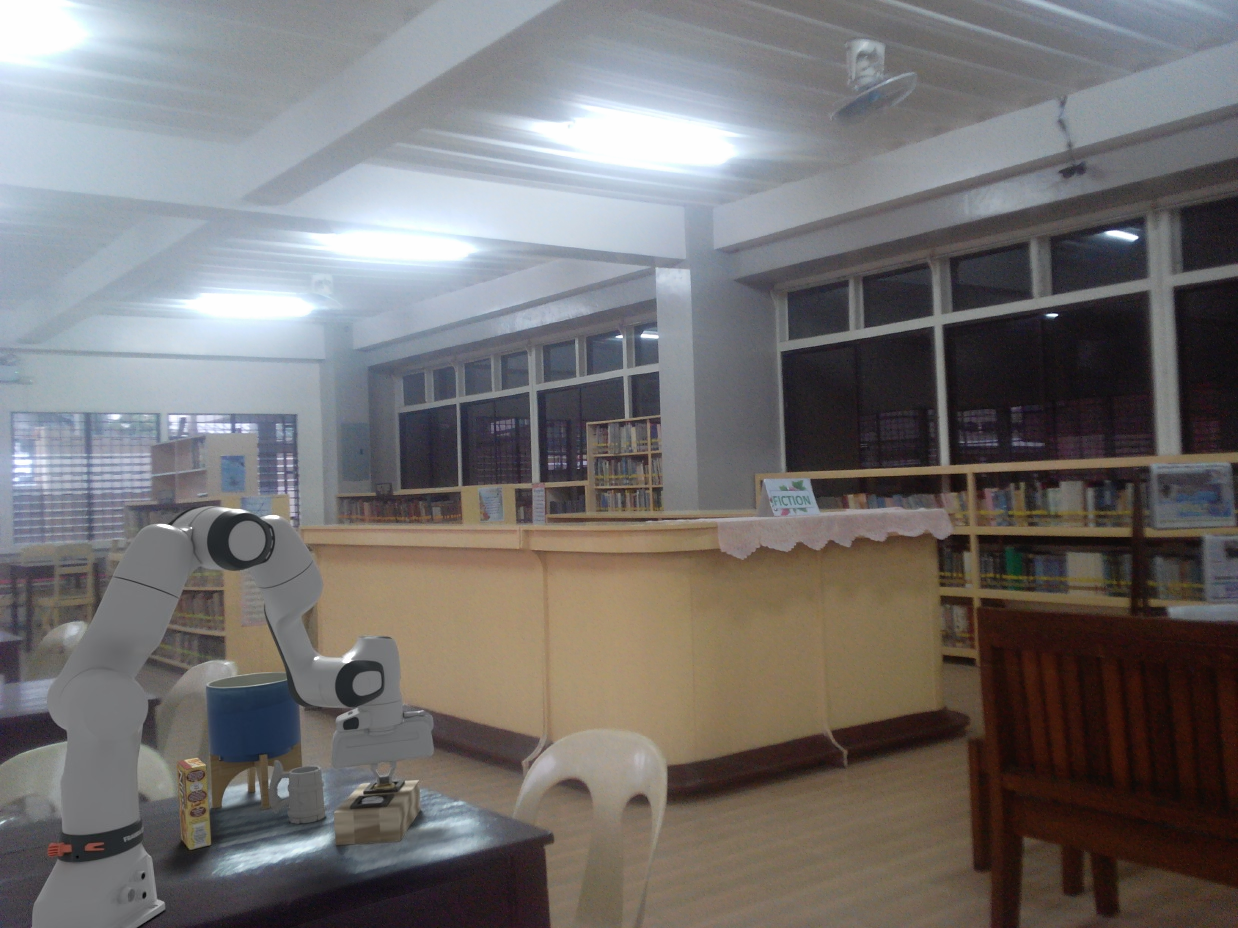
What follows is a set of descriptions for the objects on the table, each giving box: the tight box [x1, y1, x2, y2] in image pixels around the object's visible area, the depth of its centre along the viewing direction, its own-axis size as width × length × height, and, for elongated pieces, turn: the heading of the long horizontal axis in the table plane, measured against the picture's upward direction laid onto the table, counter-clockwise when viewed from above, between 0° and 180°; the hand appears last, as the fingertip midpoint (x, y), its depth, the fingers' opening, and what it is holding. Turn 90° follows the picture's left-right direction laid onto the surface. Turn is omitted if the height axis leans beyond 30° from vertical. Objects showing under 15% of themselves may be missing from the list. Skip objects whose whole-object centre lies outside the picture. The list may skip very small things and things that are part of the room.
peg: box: [362, 796, 383, 804], centre depth 199 cm, size 4×4×6 cm
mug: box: [268, 760, 327, 825], centre depth 214 cm, size 8×12×12 cm, turn 85°
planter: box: [205, 671, 303, 811], centre depth 231 cm, size 19×19×26 cm
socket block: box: [333, 779, 422, 846], centre depth 204 cm, size 20×12×7 cm, turn 0°
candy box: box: [176, 757, 212, 851], centre depth 202 cm, size 9×4×15 cm, turn 33°
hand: (384, 784), depth 210 cm, fingers closed
